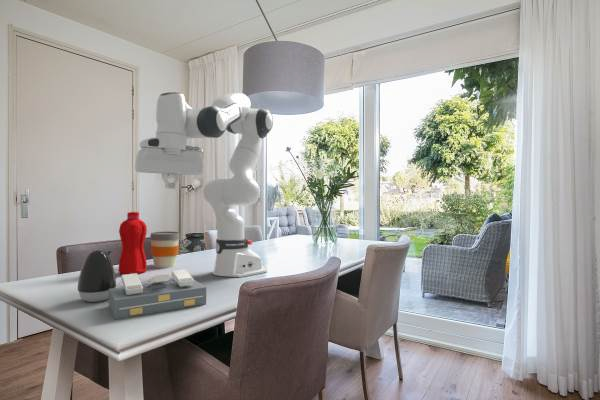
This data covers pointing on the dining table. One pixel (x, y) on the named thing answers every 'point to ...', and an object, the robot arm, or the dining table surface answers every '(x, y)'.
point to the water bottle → (132, 245)
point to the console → (155, 299)
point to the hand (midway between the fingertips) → (170, 188)
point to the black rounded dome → (96, 277)
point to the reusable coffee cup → (164, 248)
